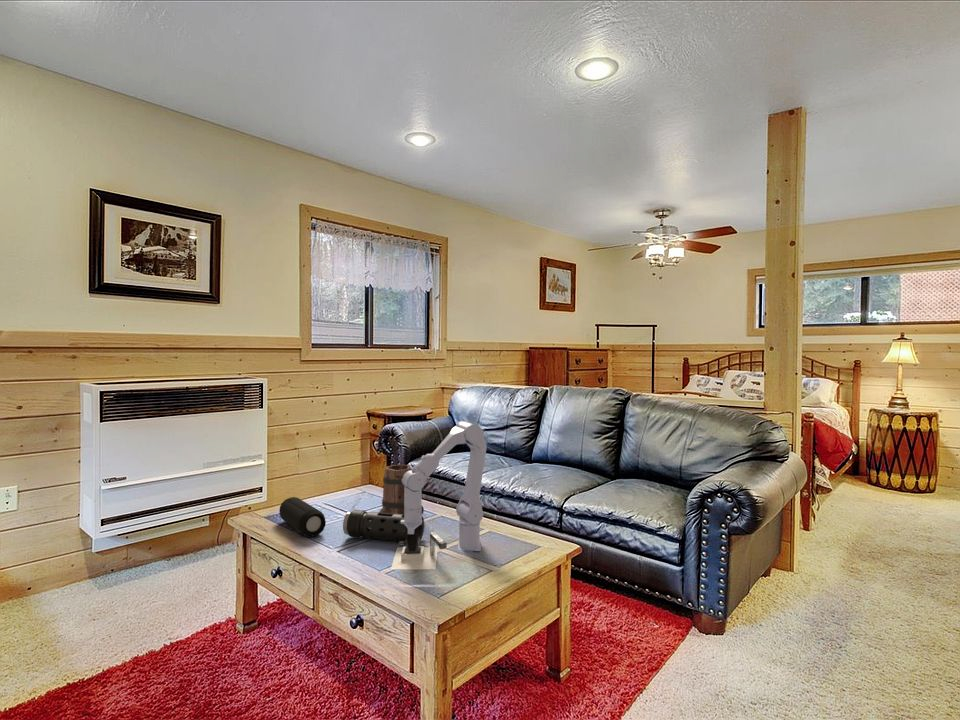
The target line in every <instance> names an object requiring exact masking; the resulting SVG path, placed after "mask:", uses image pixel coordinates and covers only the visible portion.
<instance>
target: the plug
mask: <svg viewBox="0 0 960 720" xmlns="http://www.w3.org/2000/svg"><path fill="white" fill-rule="evenodd" d="M398 545H400V546H401V545H402V546H403V545H404V546H405V547H406V554H419V546H420V542H419V536H418V539H417V545H416V550H415V551H409V550H408V545H407V540H406V542H404V541H398Z"/></svg>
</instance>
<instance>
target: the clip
mask: <svg viewBox="0 0 960 720" xmlns="http://www.w3.org/2000/svg"><path fill="white" fill-rule="evenodd" d="M436 545H437V547H438V549H439V550H445V549H447V545H448V544H447V542H446V540H443V538H441V537H440V536H439V535H438V534H437V533H436V532H435V531H430V532H429V547H430V556H434V555H435V547H436Z"/></svg>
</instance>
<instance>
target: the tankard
mask: <svg viewBox="0 0 960 720" xmlns="http://www.w3.org/2000/svg"><path fill="white" fill-rule="evenodd" d="M410 470H411V467H410V466H409V465H407V464H393V465H388V466H386V467H385V469H384V475H383V478H382V481H383V488H382V490H383V491H382V500H381V508H380V510H379V513H392V514H404V487H405V486H404V485H403V483H402V479H403V476H404V474H405V473H406V472H407V471H410ZM424 509H425V508H424V506H423V505H422V515H423V513H424V511H425V510H424Z"/></svg>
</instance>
